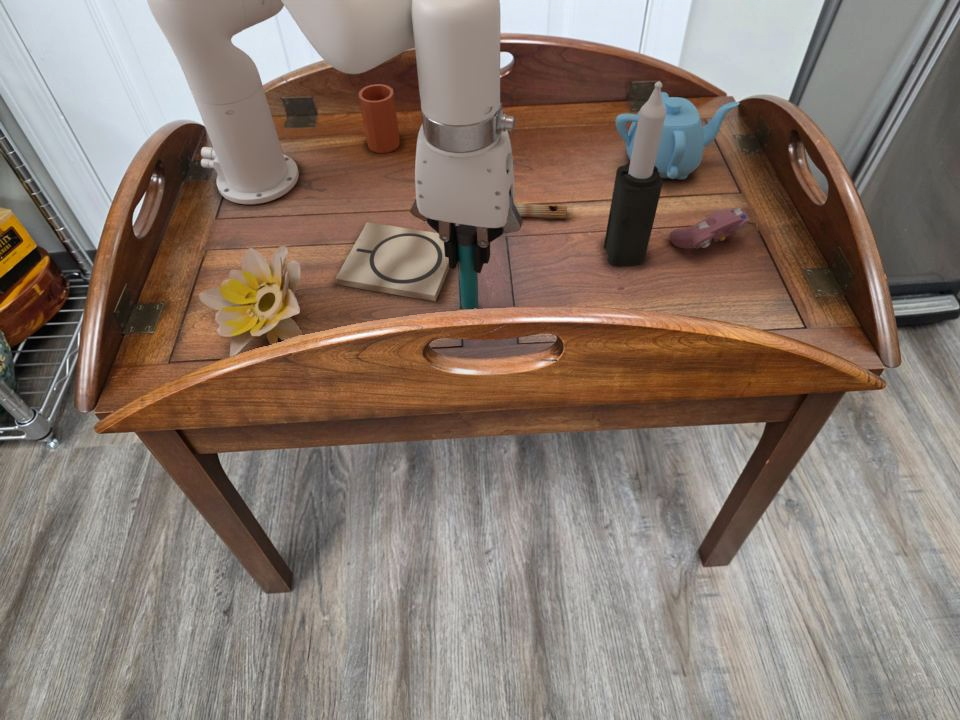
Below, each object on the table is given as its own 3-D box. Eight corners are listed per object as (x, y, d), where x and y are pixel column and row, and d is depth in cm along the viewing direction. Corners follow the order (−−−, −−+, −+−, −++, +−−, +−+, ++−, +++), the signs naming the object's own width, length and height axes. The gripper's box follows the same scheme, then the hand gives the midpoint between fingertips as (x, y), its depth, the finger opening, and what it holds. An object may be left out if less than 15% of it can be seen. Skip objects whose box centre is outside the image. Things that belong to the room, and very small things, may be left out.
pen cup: (362, 151, 107) (353, 100, 100) (374, 132, 111) (366, 82, 103) (393, 155, 106) (386, 104, 99) (404, 136, 110) (398, 86, 103)
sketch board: (337, 284, 88) (335, 277, 87) (368, 228, 95) (366, 221, 94) (435, 301, 85) (435, 294, 84) (459, 242, 93) (459, 235, 92)
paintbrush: (431, 188, 95) (567, 197, 95) (432, 203, 98) (564, 212, 97) (428, 204, 93) (567, 213, 93) (429, 219, 95) (565, 228, 95)
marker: (459, 318, 83) (453, 234, 73) (463, 305, 85) (459, 221, 74) (477, 322, 83) (474, 238, 72) (481, 308, 84) (479, 224, 74)
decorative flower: (195, 286, 86) (186, 226, 78) (281, 274, 90) (281, 218, 83) (217, 372, 78) (210, 316, 70) (311, 355, 83) (313, 300, 75)
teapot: (603, 167, 104) (611, 103, 95) (659, 128, 109) (672, 64, 100) (667, 203, 98) (682, 139, 89) (723, 160, 103) (742, 96, 94)
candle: (602, 242, 92) (630, 71, 72) (637, 239, 92) (675, 68, 73) (609, 267, 89) (641, 95, 69) (646, 264, 89) (688, 92, 69)
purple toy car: (678, 264, 91) (704, 243, 84) (663, 236, 92) (688, 213, 85) (733, 241, 94) (762, 220, 87) (718, 214, 94) (746, 190, 88)
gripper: (550, 111, 63) (540, 252, 78) (395, 93, 66) (413, 232, 81) (535, 155, 59) (527, 296, 73) (369, 133, 62) (393, 273, 76)
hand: (467, 261), depth 77 cm, fingers closed on marker, 2 cm apart
